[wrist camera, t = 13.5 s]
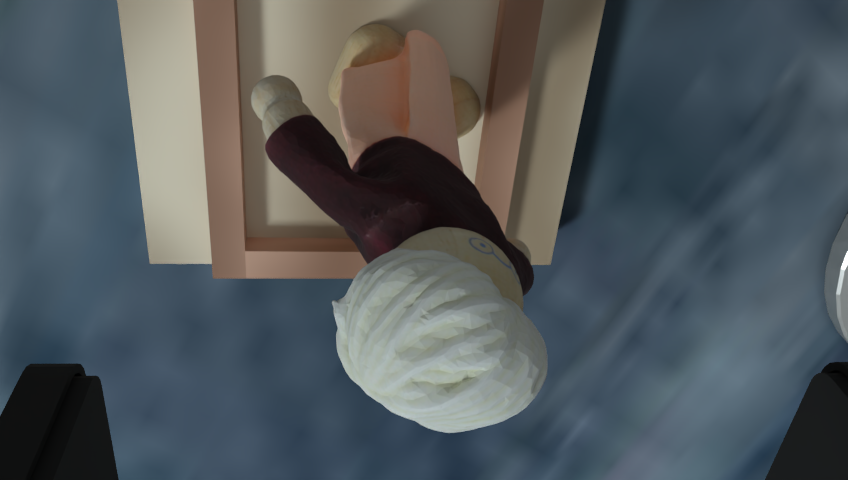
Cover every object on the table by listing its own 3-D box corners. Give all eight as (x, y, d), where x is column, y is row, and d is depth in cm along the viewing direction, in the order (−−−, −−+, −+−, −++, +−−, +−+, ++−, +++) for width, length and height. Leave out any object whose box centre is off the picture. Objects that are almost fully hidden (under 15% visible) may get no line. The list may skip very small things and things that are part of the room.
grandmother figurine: (536, 81, 22) (742, 382, 12) (469, 187, 24) (596, 535, 13) (291, -46, 20) (266, 194, 9) (234, 83, 21) (156, 415, 11)
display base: (620, -173, 20) (652, -166, 18) (539, 241, 27) (556, 278, 25) (105, -221, 18) (81, -219, 16) (158, 238, 25) (145, 278, 23)
